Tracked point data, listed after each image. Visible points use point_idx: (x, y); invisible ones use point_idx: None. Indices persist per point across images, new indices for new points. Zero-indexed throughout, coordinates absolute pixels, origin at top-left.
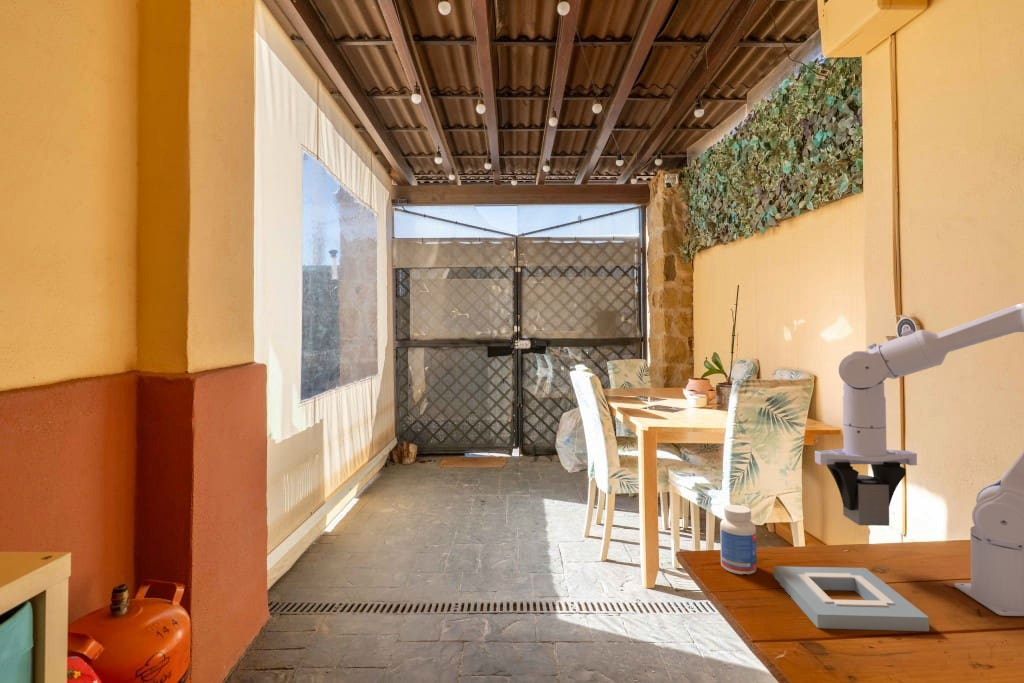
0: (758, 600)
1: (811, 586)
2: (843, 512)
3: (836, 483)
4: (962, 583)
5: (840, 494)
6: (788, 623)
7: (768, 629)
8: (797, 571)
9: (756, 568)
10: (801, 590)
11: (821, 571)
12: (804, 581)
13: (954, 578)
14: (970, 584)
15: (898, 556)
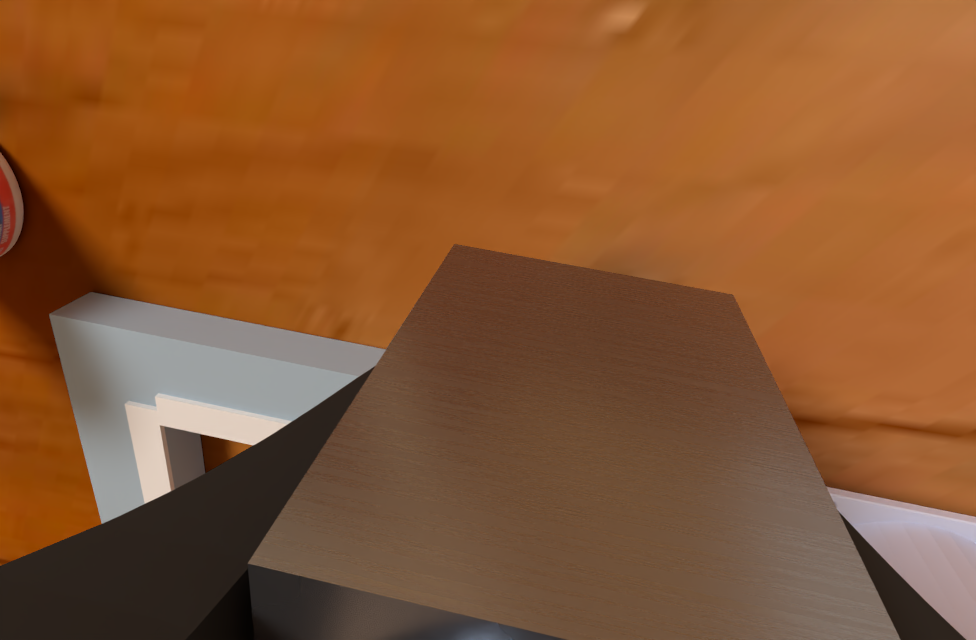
0: (14, 419)
1: (147, 484)
2: (448, 255)
3: (166, 494)
4: (837, 500)
5: (301, 415)
6: (79, 526)
7: (24, 534)
8: (137, 370)
9: (15, 233)
10: (110, 488)
11: (237, 387)
12: (136, 448)
13: (901, 421)
14: (865, 511)
15: (893, 155)
